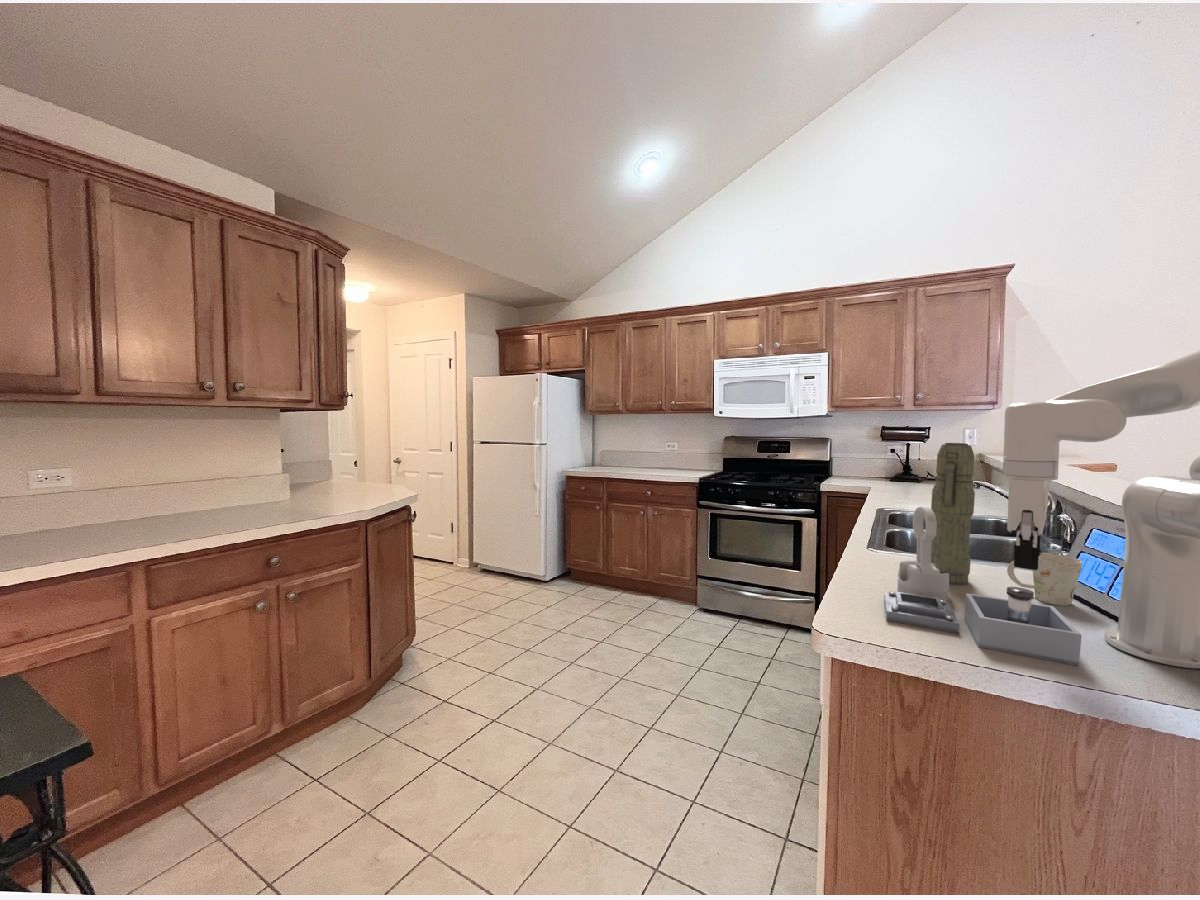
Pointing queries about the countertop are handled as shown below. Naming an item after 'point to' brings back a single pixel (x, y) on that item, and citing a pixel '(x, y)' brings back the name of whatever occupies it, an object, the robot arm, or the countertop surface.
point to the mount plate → (920, 611)
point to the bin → (1022, 630)
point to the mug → (1052, 578)
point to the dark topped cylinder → (1019, 604)
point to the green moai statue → (953, 511)
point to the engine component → (923, 562)
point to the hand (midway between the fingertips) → (1027, 561)
